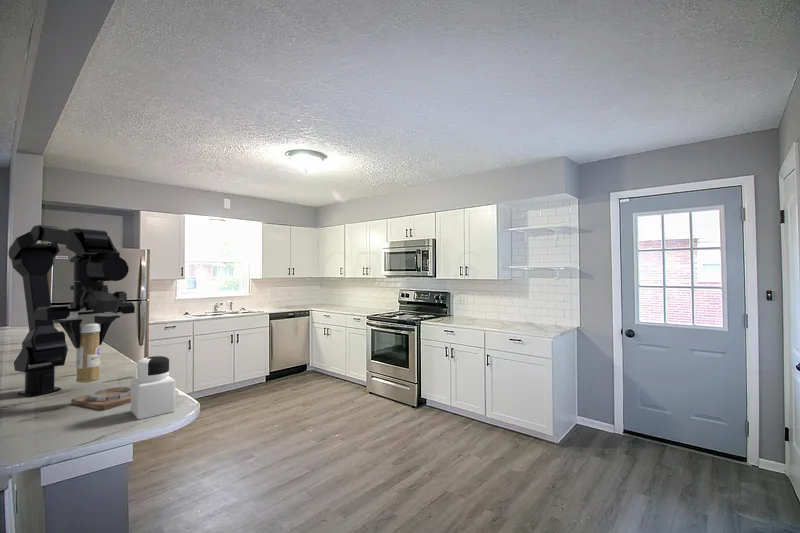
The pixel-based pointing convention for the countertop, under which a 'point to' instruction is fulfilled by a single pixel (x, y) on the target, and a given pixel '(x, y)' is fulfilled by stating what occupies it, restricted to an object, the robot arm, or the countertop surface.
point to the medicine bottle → (152, 388)
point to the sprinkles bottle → (88, 353)
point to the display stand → (105, 398)
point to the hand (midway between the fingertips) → (88, 346)
